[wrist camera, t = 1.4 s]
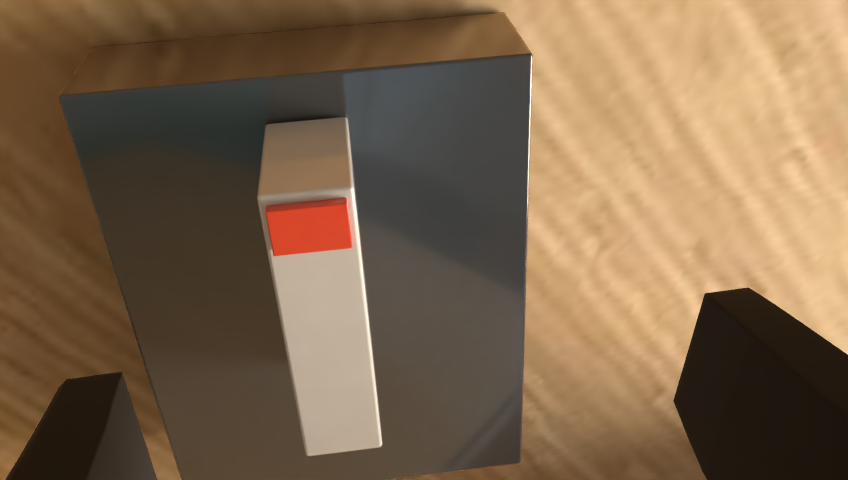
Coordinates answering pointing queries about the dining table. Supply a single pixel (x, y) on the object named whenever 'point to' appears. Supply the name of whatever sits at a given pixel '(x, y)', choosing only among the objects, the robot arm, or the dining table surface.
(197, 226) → the tap deck
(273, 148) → the tap lever
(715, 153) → the dining table surface
